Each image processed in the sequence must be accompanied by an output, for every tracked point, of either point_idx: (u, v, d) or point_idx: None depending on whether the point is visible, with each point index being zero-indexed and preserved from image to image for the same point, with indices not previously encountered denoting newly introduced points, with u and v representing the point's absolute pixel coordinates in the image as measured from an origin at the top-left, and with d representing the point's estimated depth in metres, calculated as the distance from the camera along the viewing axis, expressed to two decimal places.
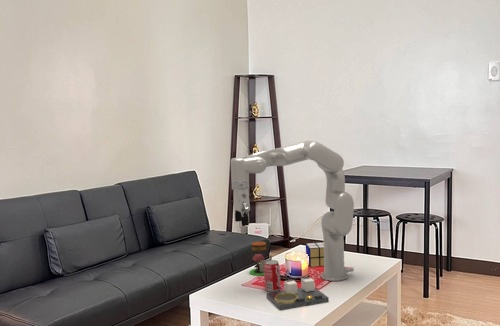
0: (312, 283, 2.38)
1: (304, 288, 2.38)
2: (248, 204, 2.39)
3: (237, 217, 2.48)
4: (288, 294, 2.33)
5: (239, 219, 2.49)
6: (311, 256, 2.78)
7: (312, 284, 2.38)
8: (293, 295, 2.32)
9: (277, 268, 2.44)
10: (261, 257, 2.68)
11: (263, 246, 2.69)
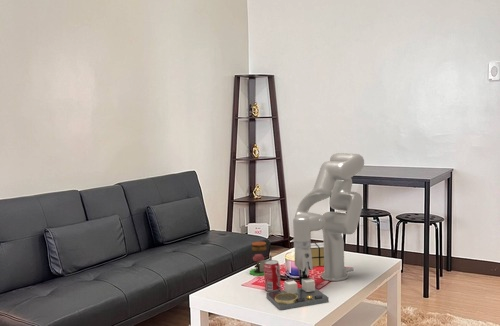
0: (313, 283, 2.37)
1: (305, 288, 2.38)
2: (311, 264, 2.39)
3: None
4: (288, 294, 2.33)
5: None
6: None
7: (313, 284, 2.37)
8: (293, 295, 2.32)
9: (277, 268, 2.44)
10: (261, 257, 2.68)
11: (263, 246, 2.69)
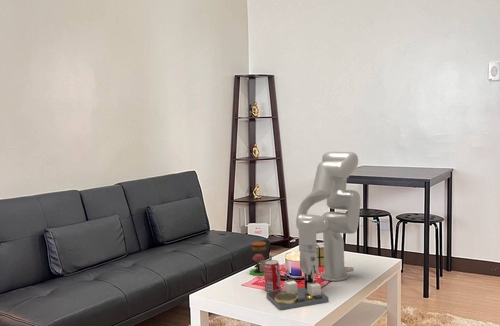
0: (318, 288, 2.31)
1: (310, 293, 2.32)
2: (317, 267, 2.33)
3: None
4: (288, 294, 2.33)
5: None
6: None
7: (318, 289, 2.32)
8: (293, 295, 2.32)
9: (277, 268, 2.44)
10: (261, 257, 2.68)
11: (263, 246, 2.69)
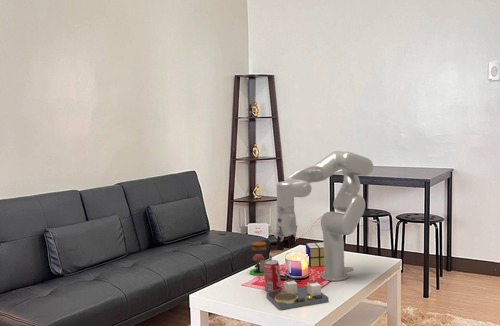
0: (318, 288, 2.31)
1: (310, 293, 2.32)
2: (283, 229, 2.37)
3: (290, 241, 2.47)
4: (288, 294, 2.33)
5: (292, 243, 2.47)
6: (311, 256, 2.78)
7: (318, 289, 2.31)
8: (293, 295, 2.32)
9: (277, 268, 2.44)
10: (261, 257, 2.68)
11: (263, 246, 2.69)
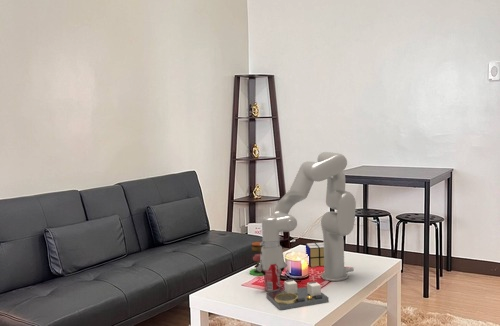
0: (318, 288, 2.31)
1: (310, 293, 2.32)
2: (262, 263, 2.43)
3: None
4: (288, 294, 2.33)
5: None
6: (311, 256, 2.78)
7: (318, 289, 2.31)
8: (293, 295, 2.32)
9: (277, 268, 2.44)
10: None
11: None
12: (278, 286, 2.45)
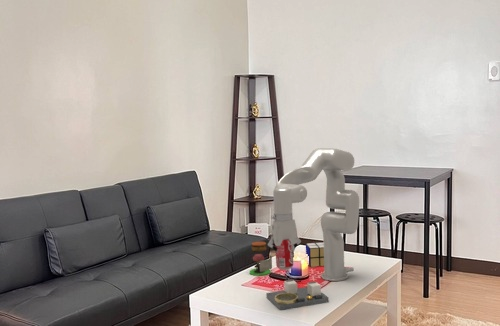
0: (318, 288, 2.31)
1: (310, 293, 2.32)
2: (274, 238, 2.23)
3: None
4: (288, 294, 2.33)
5: None
6: (311, 256, 2.78)
7: (318, 289, 2.31)
8: (293, 295, 2.32)
9: (289, 243, 2.24)
10: (261, 257, 2.68)
11: (263, 246, 2.69)
12: (291, 263, 2.25)
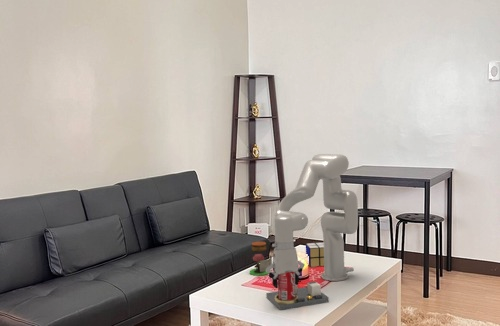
0: (318, 288, 2.31)
1: (310, 293, 2.32)
2: (275, 266, 2.24)
3: None
4: None
5: (295, 282, 2.30)
6: (311, 256, 2.78)
7: (318, 289, 2.31)
8: None
9: (292, 276, 2.25)
10: (261, 257, 2.68)
11: (263, 246, 2.69)
12: (293, 296, 2.26)
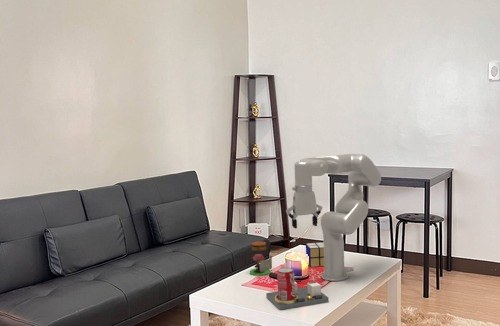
0: (318, 288, 2.31)
1: (310, 293, 2.32)
2: (295, 208, 2.41)
3: (313, 221, 2.47)
4: None
5: (314, 223, 2.47)
6: (311, 256, 2.78)
7: (318, 289, 2.31)
8: None
9: (292, 276, 2.26)
10: (261, 257, 2.68)
11: (263, 246, 2.69)
12: (293, 296, 2.27)
